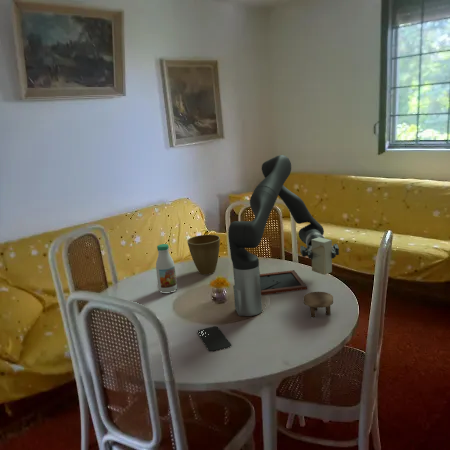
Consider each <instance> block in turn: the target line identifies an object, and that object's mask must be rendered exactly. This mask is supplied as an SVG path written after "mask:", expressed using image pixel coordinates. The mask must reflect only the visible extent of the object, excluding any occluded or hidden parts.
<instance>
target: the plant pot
mask: <svg viewBox="0 0 450 450" xmlns="http://www.w3.org/2000/svg"><path fill="white" fill-rule="evenodd" d="M220 241H221V237H220V236H219V235H217V234H200V235H194V236H192V237H190V238H188V239H187V240H186V243H187V246H188V249H189V253H190V256H191V258H192V261H193V264H194V265H195V267H196V269H197V271H198V273H199V274H200V275H204V276H205V275H212V274H214V273H215V271H216V269H217V265H218V260H219V255H220V245H221V243H220Z"/></svg>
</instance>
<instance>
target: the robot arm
mask: <svg viewBox="0 0 450 450" xmlns="http://www.w3.org/2000/svg"><path fill="white" fill-rule="evenodd" d="M291 163H292V162H291V159H290V158H289V157H288V156H286V155H285V154H284V155H283V154H280V155H276V156H275V157H272V158H270V159H267V160H266V161H264V162H263V163H262V164H261V171H262V175H263V176H264V178H263V179H262V181H260V182H259V183H258V184H257V185H256V187H255V189H253V192H252V194H251V196H250V199H249V206H250V209H251V211H252V212H253V215H254V219H253V220H250V221H249V220H248V221H246V220H245V221H244V220H236V221H232V222H231V223H230V224H229V227H228V230H227V231H228V233H227V234H228V235H227V236H228V237H227V238H228V244H229V251H230V259H231V262H232V271H233V280H234V281H233V296H234V297H233V298H234V308H235V309H234V310H235V312H236V314H238V317H241V316H243V317H253V316H256V315H259V314H261V313H262V311H263V303H262V295H261V286H260V274H261V273H260V260H259V257H258V256H257V255H256V254H253V253H251V252H249V250H247V249H254V248H258V246H259V245H260V243H261V242H262V238H263V236H264V231H265V229H266V226H267V222H268V219H269V217H270V216H271V212H272V210H273V208H274V206H275V204H276V202H277V200H278V196H279V198H280V199H281V200H282V202H283V203H284V204H285V206H286V208H287V209H288V212H290V215H291V216H292V218H293V220H294V221H295V223H296V224H298V225H300V224H304V223H309V224H307V225H305V226H304V227H302V228H300V229H299V231H298V237H299V240H300V242H302V243H304V244H305V245H306V247H305V246H304V245H300V247H299V248H300V249H299V250H300V254H301V256H302V258H303V257H304V258H305V257H308V259H310V260H311V261H312V260H313V254H312V239H315V238H318V237H321V238H325V237H324V233H325V231H324V228H323V225H322V224H321V223H320V222H318V221H317V220H316V218H314V217H313V215H312V214H311V212H310V211H309V209H308V207H307V206H306V203H305V202H304V200H303V199H302V198H301V197H300V196H298V195H297V194H296V193H294V192H292V191H291V190H290V189H288V188H287V187H286V186H285V183H286V181H287V179H288V178H289V176H290V174H291V173H292V164H291ZM339 255H340V248H339V245H338V244H337V243H333V244H332V260H333V259H335V258H336V257H337V256H339Z"/></svg>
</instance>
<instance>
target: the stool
mask: <svg viewBox="0 0 450 450" xmlns="http://www.w3.org/2000/svg"><path fill="white" fill-rule="evenodd" d="M302 298H303V304H304V305H305V306H307V307H309V308H310V309H309V311H310V312H309V313H310V318H313V319H314V318H316V312H317V311H318V309H319V308H321V309H322V308H325V315H326V316H330V315H331V314H332V313H331V306H332V305H333V304H334V296H333V295H332V294H331V293H329V292H325V291H312V292H308V293H305V294H304V295H303V297H302Z"/></svg>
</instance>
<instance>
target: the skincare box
mask: <svg viewBox="0 0 450 450" xmlns="http://www.w3.org/2000/svg"><path fill="white" fill-rule="evenodd" d="M332 246H333V241H332V239H328V238H325V237H324V238H321V237H318V238H315V239H312V254H313V260H311V271H312V272H314V273H317V274H321V275H324V276H325V275H328V274H330V273H332V272H333V259H332Z"/></svg>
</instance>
